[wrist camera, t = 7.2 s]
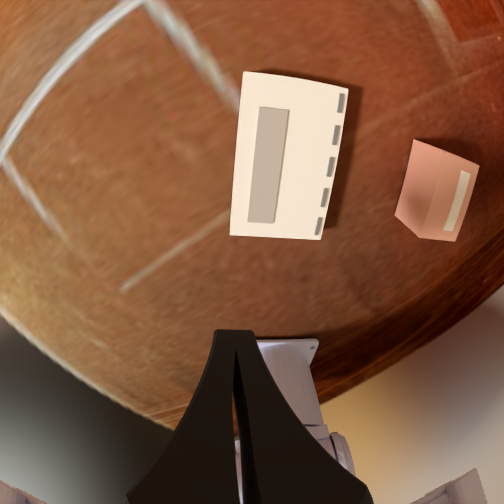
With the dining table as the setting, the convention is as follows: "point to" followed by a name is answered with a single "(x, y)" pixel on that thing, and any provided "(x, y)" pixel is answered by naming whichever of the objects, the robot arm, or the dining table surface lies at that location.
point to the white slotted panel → (285, 155)
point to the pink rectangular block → (435, 192)
